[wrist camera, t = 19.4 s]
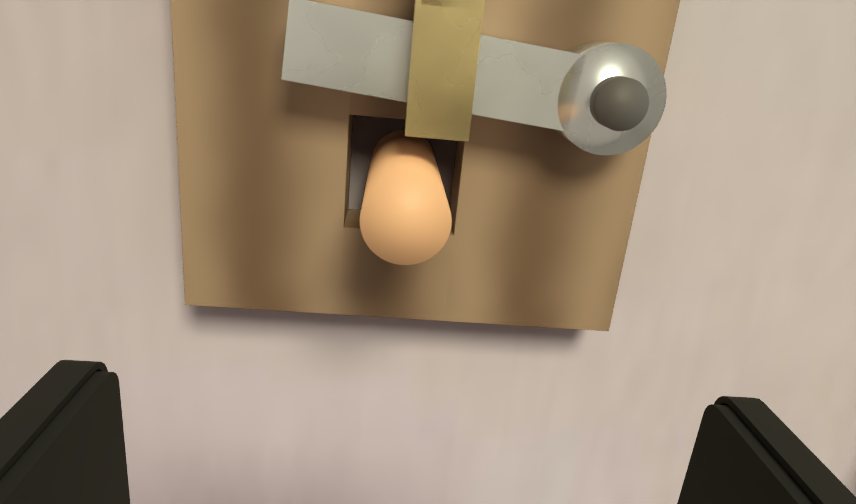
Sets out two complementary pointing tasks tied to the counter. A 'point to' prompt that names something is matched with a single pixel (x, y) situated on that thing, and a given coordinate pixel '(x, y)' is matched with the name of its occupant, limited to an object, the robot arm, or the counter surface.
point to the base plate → (330, 177)
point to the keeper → (443, 68)
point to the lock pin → (404, 201)
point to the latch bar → (495, 78)
